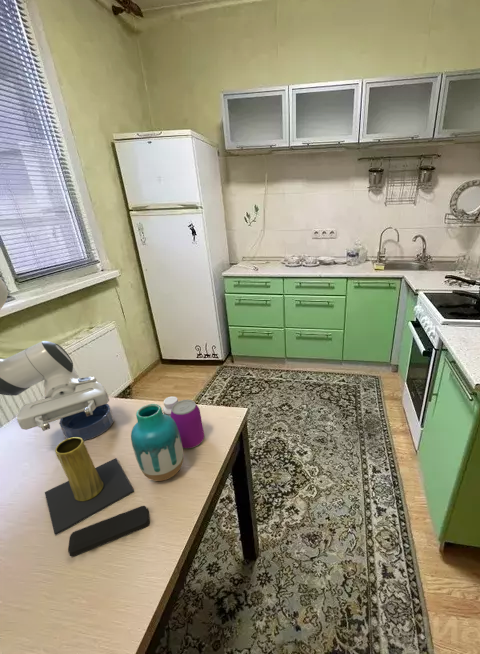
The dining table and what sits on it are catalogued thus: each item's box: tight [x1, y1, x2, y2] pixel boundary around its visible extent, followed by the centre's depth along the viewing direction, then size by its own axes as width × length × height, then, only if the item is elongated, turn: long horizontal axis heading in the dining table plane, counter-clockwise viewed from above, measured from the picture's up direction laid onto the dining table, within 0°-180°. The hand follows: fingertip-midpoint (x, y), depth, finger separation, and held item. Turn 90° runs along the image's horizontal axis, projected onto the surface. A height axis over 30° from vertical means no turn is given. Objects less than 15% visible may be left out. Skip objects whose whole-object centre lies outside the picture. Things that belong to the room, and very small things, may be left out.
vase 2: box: [130, 403, 184, 482], centre depth 77 cm, size 11×11×19 cm
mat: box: [44, 457, 135, 536], centre depth 77 cm, size 16×14×1 cm
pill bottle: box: [162, 396, 179, 417], centre depth 96 cm, size 5×5×9 cm
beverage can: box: [170, 399, 205, 449], centre depth 89 cm, size 8×8×12 cm
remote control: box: [67, 505, 151, 558], centre depth 67 cm, size 5×2×15 cm
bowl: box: [58, 403, 115, 441], centre depth 97 cm, size 13×13×4 cm
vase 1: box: [54, 437, 103, 501], centre depth 73 cm, size 6×6×14 cm
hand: (67, 420), depth 81 cm, fingers open, 8 cm apart
